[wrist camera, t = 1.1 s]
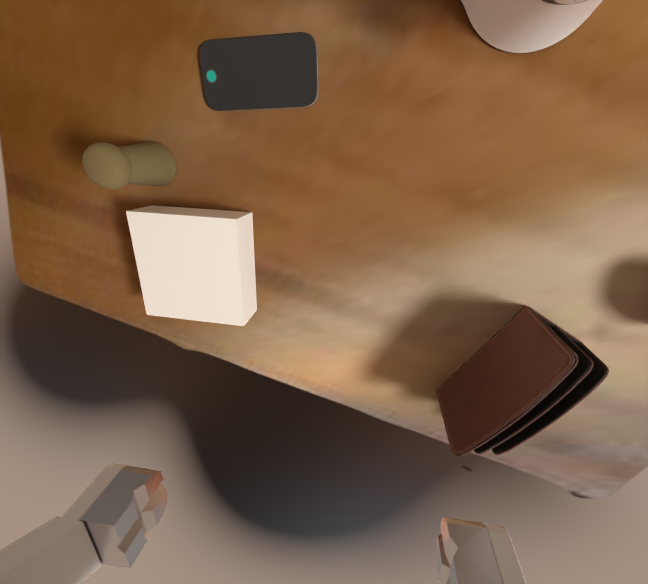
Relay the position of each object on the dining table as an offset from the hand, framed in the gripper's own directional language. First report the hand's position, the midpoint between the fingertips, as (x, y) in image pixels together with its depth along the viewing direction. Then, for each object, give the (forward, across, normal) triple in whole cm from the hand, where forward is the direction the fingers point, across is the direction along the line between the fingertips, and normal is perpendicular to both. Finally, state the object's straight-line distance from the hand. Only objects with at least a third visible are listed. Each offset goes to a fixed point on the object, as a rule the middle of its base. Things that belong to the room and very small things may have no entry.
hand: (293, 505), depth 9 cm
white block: (+40, +24, +6) cm, 48 cm away
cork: (+40, +30, -8) cm, 51 cm away
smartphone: (+40, +14, -19) cm, 47 cm away
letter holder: (+40, -23, +21) cm, 51 cm away
